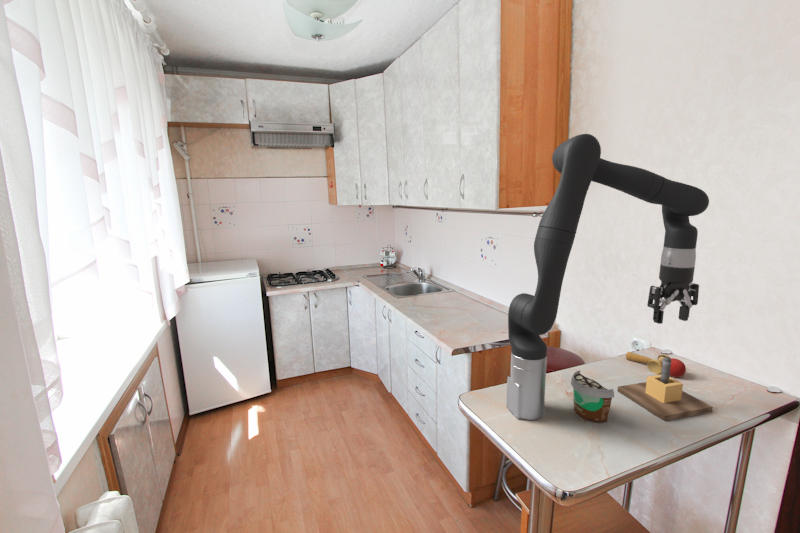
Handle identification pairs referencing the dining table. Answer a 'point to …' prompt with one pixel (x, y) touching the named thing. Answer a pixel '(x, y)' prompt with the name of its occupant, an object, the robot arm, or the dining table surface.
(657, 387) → the tan hollow square block
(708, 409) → the needle stand
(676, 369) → the kendama
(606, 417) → the food container
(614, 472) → the dining table surface
